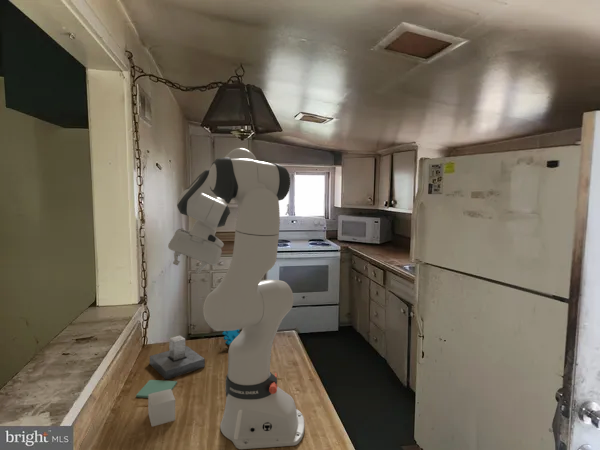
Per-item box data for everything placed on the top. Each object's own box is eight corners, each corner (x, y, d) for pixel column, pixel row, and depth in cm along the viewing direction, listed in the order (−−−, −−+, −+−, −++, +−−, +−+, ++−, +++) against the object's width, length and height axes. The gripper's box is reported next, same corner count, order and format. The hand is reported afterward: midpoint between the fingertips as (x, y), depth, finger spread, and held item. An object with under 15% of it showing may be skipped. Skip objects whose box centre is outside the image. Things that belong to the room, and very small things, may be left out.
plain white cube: (151, 427, 94) (151, 405, 93) (148, 414, 99) (148, 394, 98) (175, 420, 97) (175, 399, 96) (170, 408, 102) (171, 388, 102)
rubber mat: (177, 383, 116) (177, 381, 115) (165, 398, 107) (165, 397, 106) (149, 381, 116) (149, 379, 116) (136, 397, 107) (136, 395, 107)
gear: (230, 348, 139) (220, 325, 143) (222, 356, 141) (212, 333, 146) (250, 343, 148) (240, 322, 152) (241, 350, 150) (232, 329, 155)
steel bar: (179, 361, 130) (180, 335, 129) (184, 366, 127) (185, 338, 126) (169, 365, 127) (169, 338, 126) (174, 369, 124) (174, 341, 123)
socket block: (186, 353, 137) (186, 345, 137) (204, 366, 127) (204, 358, 127) (149, 364, 127) (149, 356, 127) (166, 379, 117) (166, 371, 117)
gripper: (174, 224, 135) (158, 257, 131) (222, 241, 131) (206, 276, 127) (181, 229, 141) (166, 261, 137) (227, 245, 137) (212, 279, 133)
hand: (186, 268), depth 132 cm, fingers open, 8 cm apart
